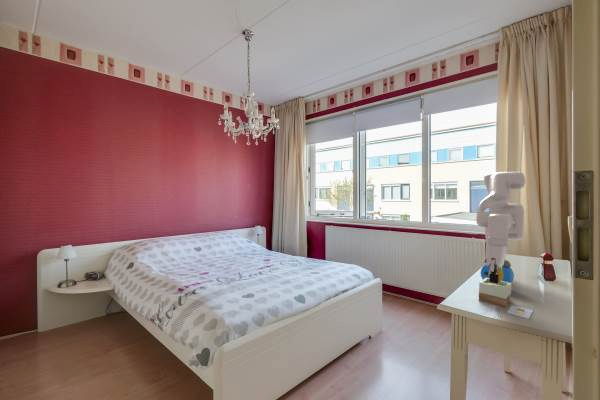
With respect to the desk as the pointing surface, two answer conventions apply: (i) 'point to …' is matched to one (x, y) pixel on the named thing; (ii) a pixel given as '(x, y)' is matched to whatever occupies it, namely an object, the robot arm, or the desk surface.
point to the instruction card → (520, 312)
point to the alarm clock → (505, 268)
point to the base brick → (494, 300)
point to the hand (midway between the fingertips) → (495, 280)
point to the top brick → (495, 288)
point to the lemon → (499, 274)
